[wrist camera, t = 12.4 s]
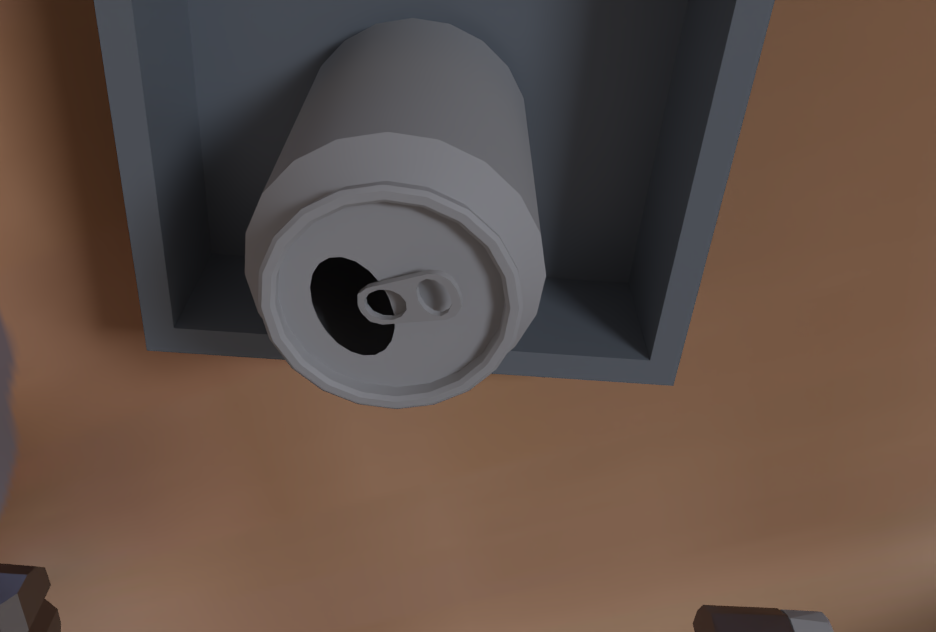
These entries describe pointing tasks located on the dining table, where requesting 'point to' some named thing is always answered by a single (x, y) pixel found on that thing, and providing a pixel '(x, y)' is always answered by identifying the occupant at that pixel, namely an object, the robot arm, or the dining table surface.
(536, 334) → the bin
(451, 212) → the can
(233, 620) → the dining table surface
